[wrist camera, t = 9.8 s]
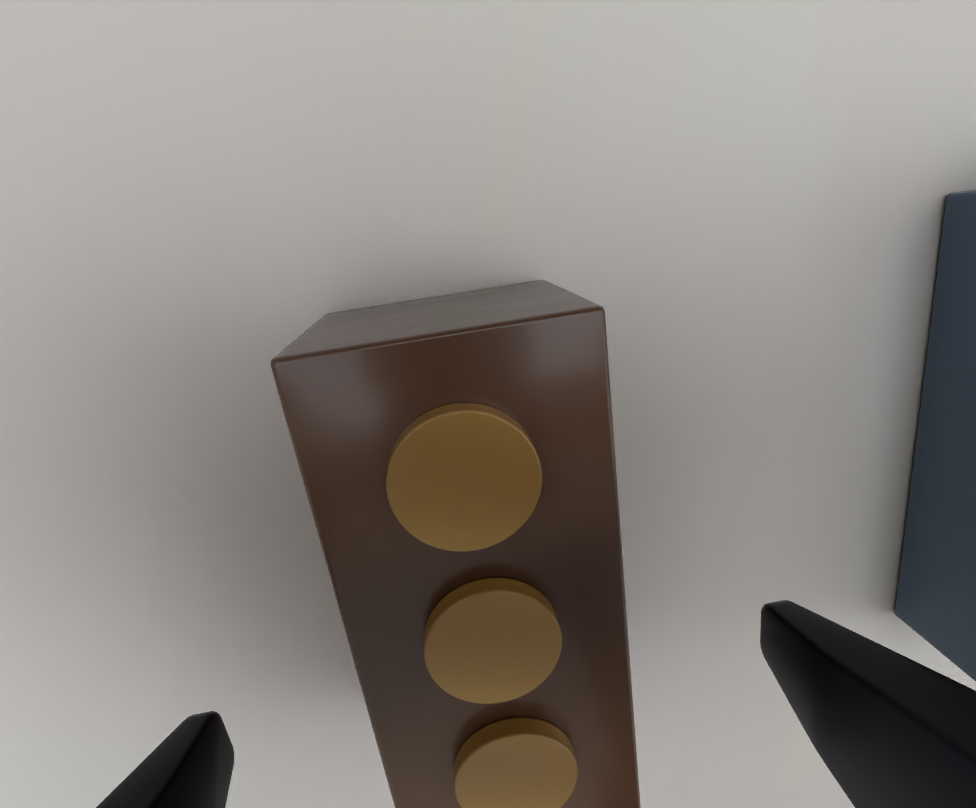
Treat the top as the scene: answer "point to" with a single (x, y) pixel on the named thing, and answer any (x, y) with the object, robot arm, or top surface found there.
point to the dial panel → (946, 457)
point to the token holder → (474, 540)
